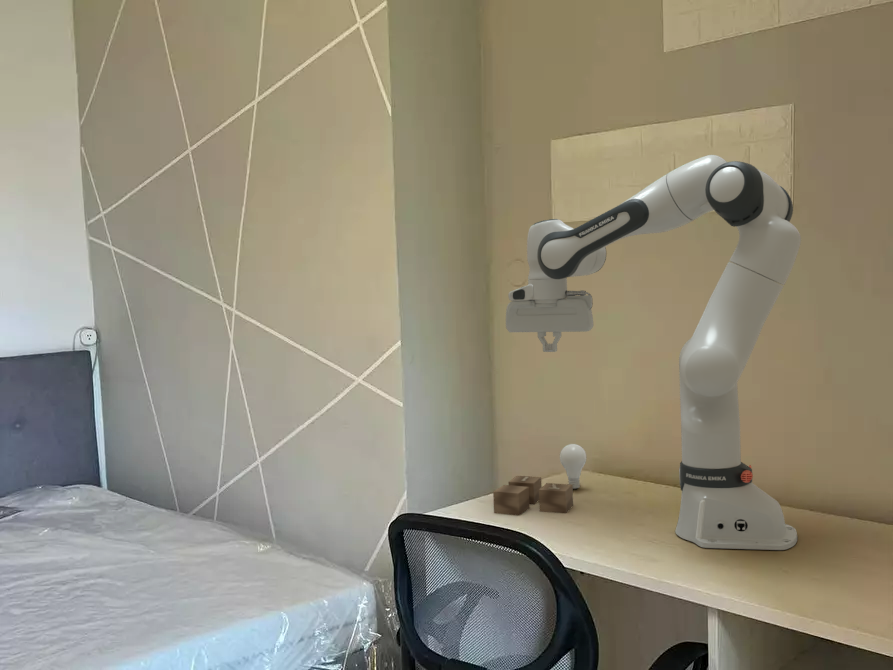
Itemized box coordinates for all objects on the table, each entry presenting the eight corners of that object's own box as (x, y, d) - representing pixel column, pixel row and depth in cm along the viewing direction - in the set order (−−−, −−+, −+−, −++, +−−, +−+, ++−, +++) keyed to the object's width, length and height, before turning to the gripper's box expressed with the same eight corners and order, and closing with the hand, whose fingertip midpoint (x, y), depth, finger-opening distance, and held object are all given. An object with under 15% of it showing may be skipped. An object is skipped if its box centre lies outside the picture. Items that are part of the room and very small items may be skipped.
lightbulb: (556, 487, 214) (554, 443, 214) (580, 484, 216) (578, 440, 215) (567, 493, 208) (566, 447, 208) (592, 490, 210) (590, 445, 209)
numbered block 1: (542, 498, 207) (541, 476, 206) (534, 504, 201) (533, 482, 201) (517, 496, 209) (516, 475, 208) (509, 503, 203) (508, 481, 203)
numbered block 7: (573, 506, 198) (572, 483, 198) (566, 513, 193) (565, 490, 192) (547, 504, 201) (546, 482, 200) (539, 512, 195) (538, 489, 195)
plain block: (529, 508, 198) (528, 486, 198) (519, 516, 193) (518, 493, 192) (505, 506, 201) (504, 484, 200) (494, 513, 196) (493, 491, 195)
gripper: (596, 289, 201) (598, 350, 202) (511, 292, 209) (513, 350, 210) (588, 290, 195) (590, 353, 196) (501, 293, 204) (504, 353, 205)
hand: (550, 351), depth 203 cm, fingers closed
